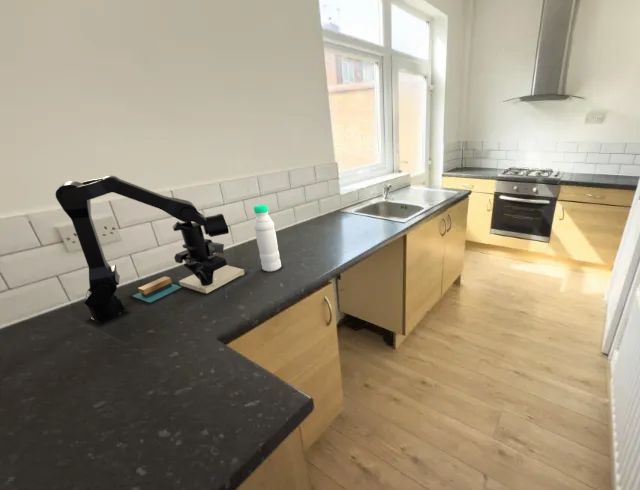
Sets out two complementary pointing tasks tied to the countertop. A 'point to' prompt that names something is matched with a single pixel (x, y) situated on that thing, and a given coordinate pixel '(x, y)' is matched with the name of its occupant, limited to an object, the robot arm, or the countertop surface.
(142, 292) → the brush
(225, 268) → the cream rectangular board
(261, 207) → the water bottle
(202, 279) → the knob
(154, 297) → the dish cloth
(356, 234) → the countertop surface
